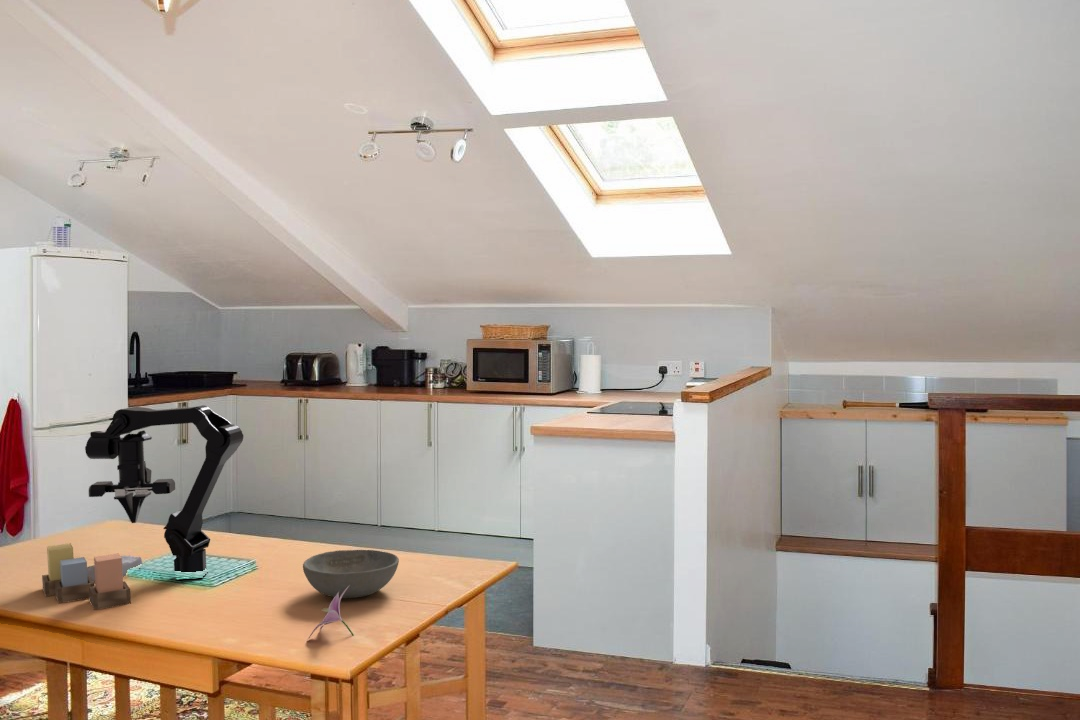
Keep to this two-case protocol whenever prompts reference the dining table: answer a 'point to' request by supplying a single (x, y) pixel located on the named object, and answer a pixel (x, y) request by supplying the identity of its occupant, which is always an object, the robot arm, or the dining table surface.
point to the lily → (333, 613)
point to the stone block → (126, 564)
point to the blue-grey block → (73, 572)
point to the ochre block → (57, 559)
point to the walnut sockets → (86, 593)
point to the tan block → (108, 573)
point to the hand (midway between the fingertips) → (134, 522)
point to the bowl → (350, 572)
